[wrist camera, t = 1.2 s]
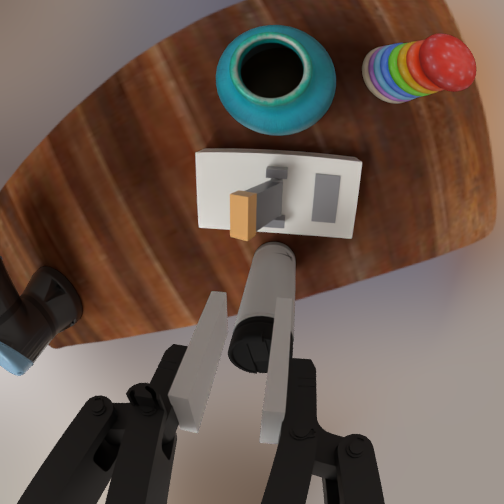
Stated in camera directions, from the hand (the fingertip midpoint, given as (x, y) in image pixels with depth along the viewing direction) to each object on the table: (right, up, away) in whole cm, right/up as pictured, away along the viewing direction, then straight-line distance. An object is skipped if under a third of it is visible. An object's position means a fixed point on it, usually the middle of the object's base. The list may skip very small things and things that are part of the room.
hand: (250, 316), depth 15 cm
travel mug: (+3, +2, +29) cm, 29 cm away
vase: (+4, +24, +18) cm, 30 cm away
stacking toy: (+18, +26, +14) cm, 35 cm away
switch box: (+4, +12, +23) cm, 27 cm away
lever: (+3, +10, +19) cm, 22 cm away
